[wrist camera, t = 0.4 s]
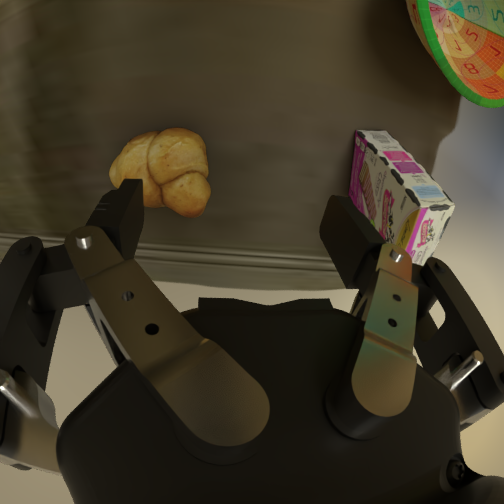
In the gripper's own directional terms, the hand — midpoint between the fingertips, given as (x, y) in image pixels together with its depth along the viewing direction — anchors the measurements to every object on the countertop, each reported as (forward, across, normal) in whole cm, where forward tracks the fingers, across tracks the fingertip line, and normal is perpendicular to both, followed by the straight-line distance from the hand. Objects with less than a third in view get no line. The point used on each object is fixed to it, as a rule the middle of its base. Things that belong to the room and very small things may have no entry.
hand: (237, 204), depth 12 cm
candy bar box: (+24, -21, +4) cm, 32 cm away
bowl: (+20, -24, -22) cm, 38 cm away
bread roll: (+24, +7, +7) cm, 26 cm away
